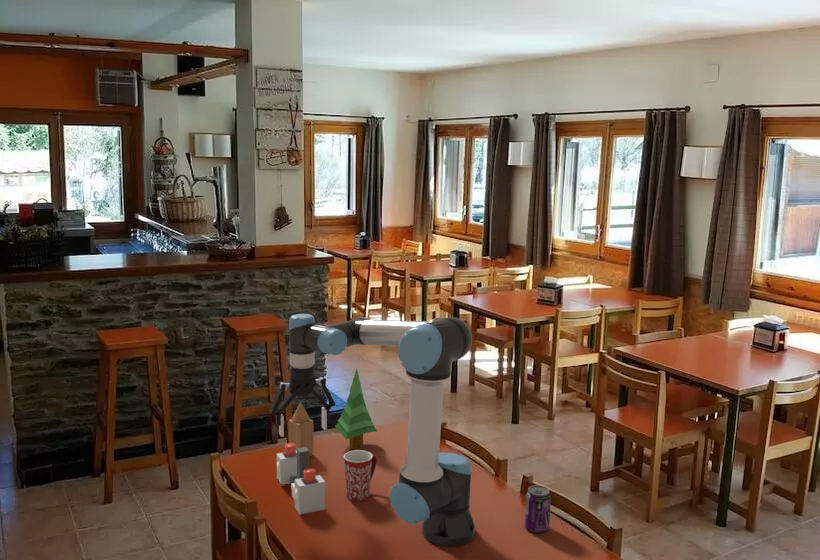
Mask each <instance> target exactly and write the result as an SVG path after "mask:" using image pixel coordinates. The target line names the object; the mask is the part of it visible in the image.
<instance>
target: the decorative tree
mask: <svg viewBox="0 0 820 560" xmlns="http://www.w3.org/2000/svg"><path fill="white" fill-rule="evenodd" d="M337 422H338V423H336V424H335V425H334V426H335V429H337V430H338V432H339V433H340V434H341V435H342V436H343V438H344V439H345V440H348V439H349V447H350V448H351V449H360V448H362V447H363V446H364V434H367V433H375V432H378V430H377V428H376V427H375V424H374V422H373V420H372V418H371V416H370V413H369V410H368V408H367V405H366V403H365V398H364V394H363V388H362V386H361V381H360V375H359V371H358V368H357V367H356V369H355V373H354V375H353V378H352V382H351V386H350V389H349V394H348V397H347V399H346V403H345V405H344V407H343V410H342V412H341V413H340V418H339V419H337Z"/></svg>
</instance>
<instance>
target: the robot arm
mask: <svg viewBox="0 0 820 560" xmlns="http://www.w3.org/2000/svg"><path fill="white" fill-rule="evenodd" d="M288 322H289V323H288V337H289V338H288V339H289V341H288V342H289V365H290V366H289V382H283V381H280V382H279V385H278V391H277V393H276V395H275V397H274V399H273V402H272V403H271V405H270V408H269V410H268V412H269V413H270V415H272V416H275V424H276V426H277V427H278V434H279V436H280V437H281V438H282V437H285V431H284V430H285V427H284V426H285V425H284V424H285V423H284V422H285V421H284V420H285V419H284V415H283V413H284V412H285V410H286V409H287V408H288V406H289V405H290V404H291V402H292V401H293V400H294V399H296V397H297V396H298V397H301V396H302V397H303V396H309V394H311V395H313V396H314V398H316V399H317V400H318V401H319V402H320V403H321V405H322V407H321V429H323V430H324V431H328V430H327V429H328V422H327V421H328V419H329V418H330V411H331V409H332V407H335V406H336V402H335V399H333V396H332V395H331V393H330V391H329V389H328V388H327V387H328V386H327V384H326V379H324V378H323V377H322V376H319V378H317V379H316V367H315V364H316V358H315V356H316V354H315V352H316V351H317V352H320V353H323V354H325V355H331V356H338V355H340V354H342V352H344V351H345V349H346V348H349V347H351V346H355V345H356V346H357V345H359V346H360V345H361V346H362V345H366V346H379V347H380V346H381V347H382V346H383V347H396V348H397V347H398V348H397V350H398V352H397V353H398V358H399V361H401V362H402V363H401V365H402V367H403V368H404V369H405V374H406V376H407V377H408V378H409V379H410V395H409V410H408V411H409V412H408V413H409V414H408V423H407V424H408V427H407V442H406V457H405V459H406V460H405V462H404V463H403V464H402V465H401V466H400V469H399V478H398V482H396V483H394V485H393V486H391V488H390V491H389V502H390V504H391V507H392V509H393V511H394V512H395V513H396V515H397V516H398V517H399V518H400V519H401V520H403V521H404V522H406V523H407V524H412V525H415V524H416V525H417V524H420V523H422V525H421V533H422V537H424V538H425V539H426V540H427V541H428V542H430V543H431V544H435V545H438V546H443V547H458V546H459V547H460V546H464V545H466V544H469V542H471V541H472V540H473V539H474V537H475V535H476V534H475V533H476V530H475V529H476V525H475V522H474V519H473V516H472V512H471V509H470V508H471V507H470V504H471V503H470V502H471V482H472V481H471V479H472V465H471V464H472V463H471V462H470V461H469V459H468V458H467V457H465V456H463V455H460V454H457V453H451V452H440V444H441V443H440V442H441V433H442V432H441V430H442V429H441V428H442V418H443V416H442V415H443V402H444V388H445V382H446V381H447V380H449V379H451V376H452V364H453V362H456V361H458V360H460V359H462V358H464V357H465V356H466V355H467V354H468V352H469V351H470V350H471V347H472V344H473V334H472V330H471V329H470V327H469V325H468V324H467V323H466V322H465V321H464V320H463V319H460V318H459V317H453V316H451V317H448V316H447V317H435V318H433V319H431V320H430V321H429V320H427V321H426V320H393V319H392V320H389V319H388V320H387V319H386V320H385V319H378V320H377V319H370V318H369V317H357V318H356V317H355V318H354V319H350V320H346V321H343V322H339V323H335V324H329V325H320V324H317V323H316V321H315V316H314V315H312V314H311V313H297V314H292V315H291V316H290V318H289V321H288ZM317 385H318V386H320V388H321V390H322V392H323V394H324V396H325V398H326V399H327V401H328V402H327V401H326V400H325V399H324V398H322V395H321V396H320V394H319V393H318V392H317V391H316V390H315V389H314V388H315V387H316V386H317ZM288 388H290V390H288V393H287V395H286V396H285V397H284V395H285V393H286V391H287V389H288ZM283 397H284V399H283ZM282 399H283V400H282Z"/></svg>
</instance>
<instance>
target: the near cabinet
mask: <svg viewBox="0 0 820 560" xmlns="http://www.w3.org/2000/svg"><path fill="white" fill-rule="evenodd" d="M294 508H295V510H296V511H297V513H298V515H304V514H308V513H309V514H310V513H315V512H319V511H323V510H326V481H325V479H324V478H323V477H322V476H321V474H319V475H316V481H314V482H312V483H307V482H304V478H300V479H295V500H294Z"/></svg>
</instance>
